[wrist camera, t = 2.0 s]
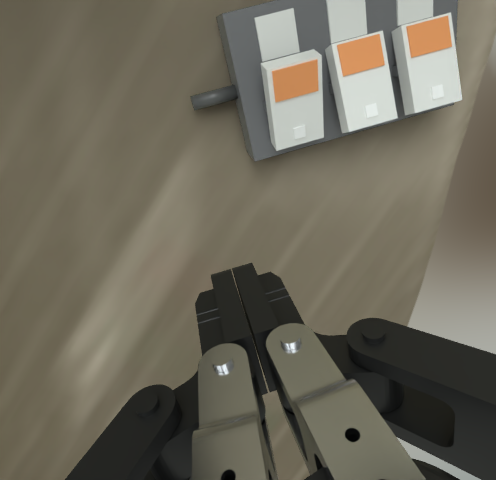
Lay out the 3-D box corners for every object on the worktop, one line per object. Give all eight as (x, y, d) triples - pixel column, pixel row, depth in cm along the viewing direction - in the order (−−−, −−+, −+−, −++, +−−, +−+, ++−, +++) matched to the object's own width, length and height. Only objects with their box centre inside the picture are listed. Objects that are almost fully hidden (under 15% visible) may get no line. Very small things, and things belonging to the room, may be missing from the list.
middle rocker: (324, 49, 32) (332, 43, 31) (373, 36, 33) (383, 29, 31) (342, 133, 34) (349, 131, 32) (388, 120, 34) (398, 118, 33)
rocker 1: (260, 63, 30) (266, 70, 29) (313, 49, 30) (322, 55, 29) (271, 142, 35) (276, 151, 34) (317, 129, 35) (324, 138, 34)
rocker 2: (391, 31, 33) (402, 24, 31) (438, 19, 33) (452, 11, 31) (405, 115, 34) (416, 113, 33) (450, 102, 35) (463, 99, 33)
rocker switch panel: (170, 28, 33) (172, 26, 29) (432, -39, 34) (466, -49, 31) (208, 163, 38) (214, 175, 34) (431, 100, 40) (459, 105, 36)
